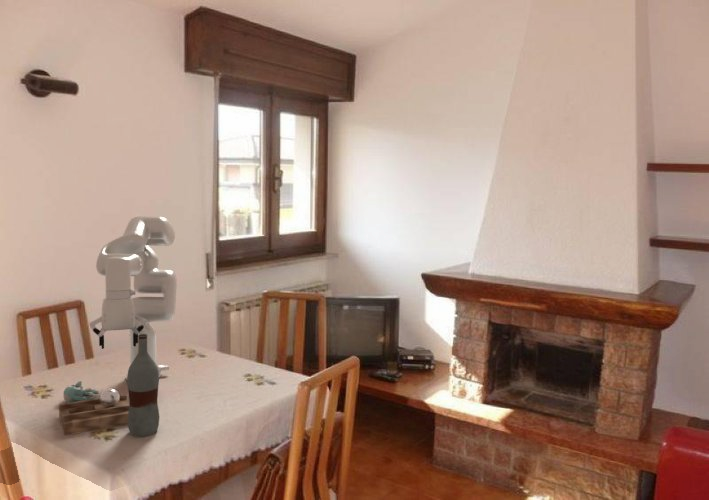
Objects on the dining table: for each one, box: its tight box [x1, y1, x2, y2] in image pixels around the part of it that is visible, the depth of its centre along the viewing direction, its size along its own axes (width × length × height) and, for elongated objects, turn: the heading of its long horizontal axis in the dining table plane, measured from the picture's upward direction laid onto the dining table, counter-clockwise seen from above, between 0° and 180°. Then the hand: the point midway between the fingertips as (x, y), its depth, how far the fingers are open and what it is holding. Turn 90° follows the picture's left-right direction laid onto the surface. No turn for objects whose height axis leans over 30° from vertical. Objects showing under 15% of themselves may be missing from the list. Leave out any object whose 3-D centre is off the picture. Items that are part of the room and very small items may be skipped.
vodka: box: [126, 334, 160, 438], centre depth 179 cm, size 9×9×30 cm
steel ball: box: [99, 387, 121, 408], centre depth 190 cm, size 6×6×6 cm
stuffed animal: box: [63, 380, 100, 403], centre depth 205 cm, size 11×7×12 cm
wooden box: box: [58, 394, 130, 436], centre depth 188 cm, size 20×16×5 cm
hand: (118, 346), depth 193 cm, fingers open, 9 cm apart
